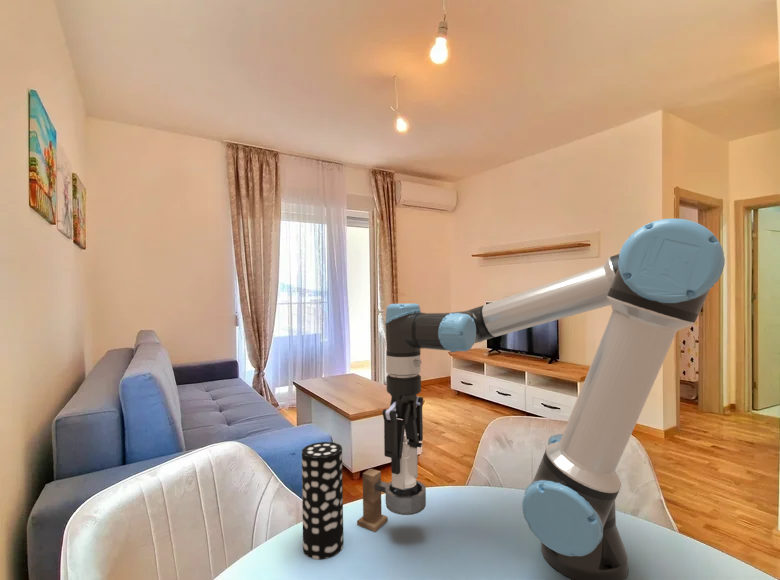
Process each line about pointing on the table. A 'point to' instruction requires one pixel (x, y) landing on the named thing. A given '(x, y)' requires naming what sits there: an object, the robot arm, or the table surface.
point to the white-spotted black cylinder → (322, 500)
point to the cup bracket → (403, 498)
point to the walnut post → (371, 502)
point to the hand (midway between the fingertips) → (405, 481)
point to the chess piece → (409, 479)
